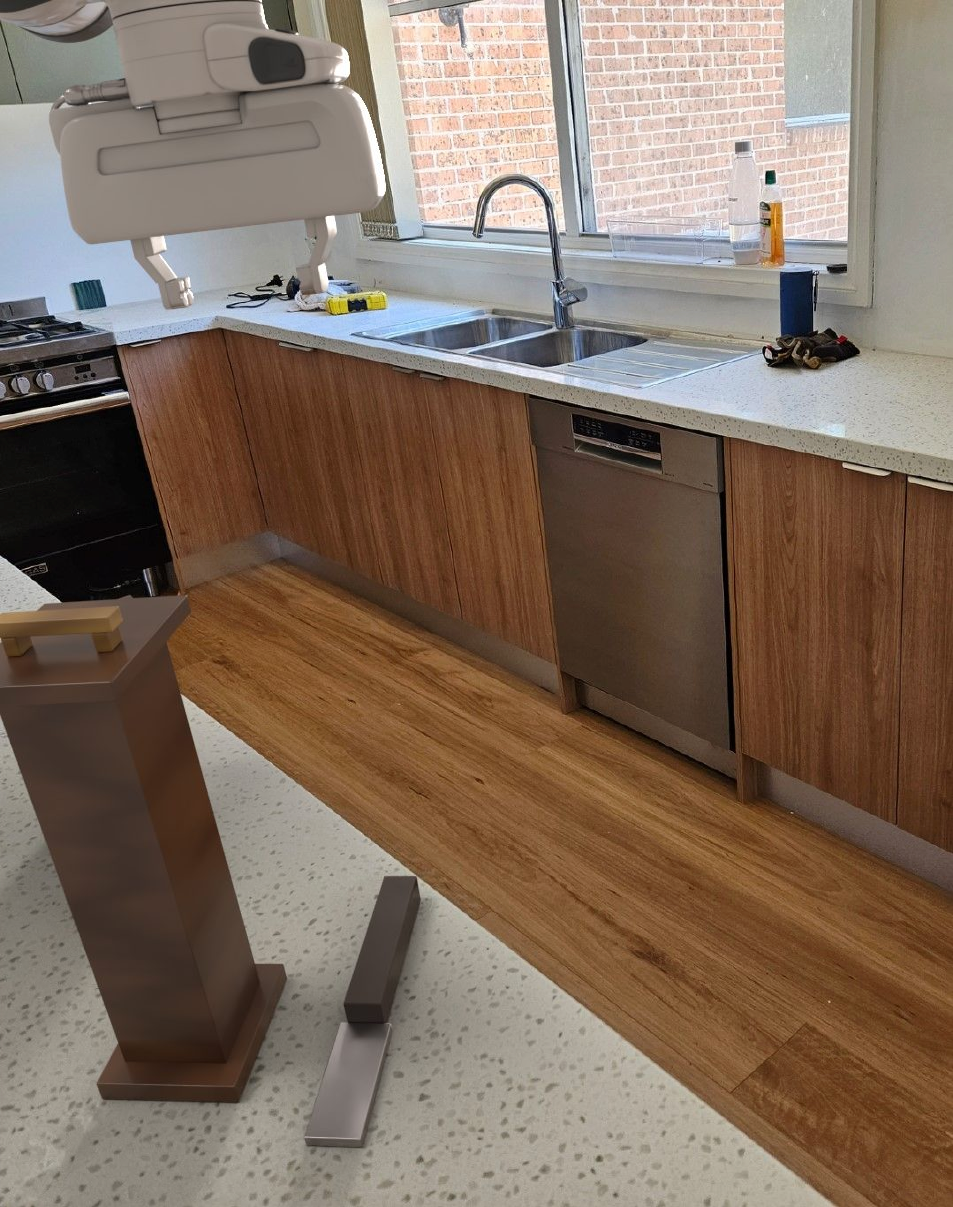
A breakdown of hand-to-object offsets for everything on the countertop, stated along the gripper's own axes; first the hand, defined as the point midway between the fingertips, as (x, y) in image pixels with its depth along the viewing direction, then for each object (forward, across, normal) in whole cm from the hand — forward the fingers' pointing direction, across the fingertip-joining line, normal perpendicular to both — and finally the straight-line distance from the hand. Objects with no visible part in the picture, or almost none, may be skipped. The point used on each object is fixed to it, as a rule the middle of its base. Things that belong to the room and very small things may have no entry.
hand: (246, 300), depth 71 cm
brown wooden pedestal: (+37, -2, -27) cm, 46 cm away
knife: (+37, +8, -24) cm, 45 cm away
